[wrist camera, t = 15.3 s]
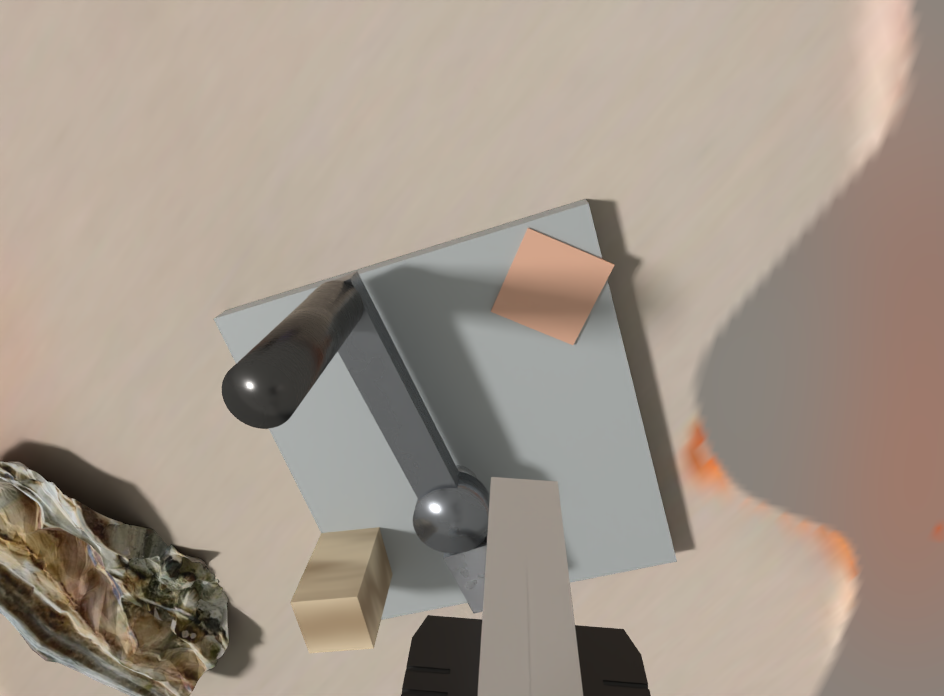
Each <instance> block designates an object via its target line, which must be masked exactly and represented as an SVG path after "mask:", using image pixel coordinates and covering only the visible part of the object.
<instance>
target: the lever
mask: <svg viewBox="0 0 944 696" xmlns="http://www.w3.org/2000/svg"><path fill="white" fill-rule="evenodd" d="M337 352H338V353H339V355H340V357H341V358H342V360H343V362H344V364H345V366H346V368H347V369H348V371H349V373H350V375H351V377H352V379H353V380H354V382H355V384H356V386H357V388H358V390H359V391H360V393H361V395H362V397H363V399H364V401H365V403H366V404H367V406H368V408H369V410H370V412H371V414H372V415H373V417H374V419H375V421H376V423H377V425H378V426H379V428H380V430H381V432H382V434H383V436H384V437H385V439H386V441H387V443H388V445H389V447H390V448H391V450H392V452H393V454H394V456H395V458H396V459H397V461H398V463H399V465H400V467H401V469H402V470H403V472H404V474H405V476H406V478H407V480H408V481H409V483H410V485H411V487H412V489H413V491H414V492H415V494H416V496H417V502H416V506H415V510H414V514H413V527H414V530H415V532H416V534H417V536H418V537H419V538H420V540H421V541H422V542H423V543H424V544H426V545H427V546H429V547H430V548H432V549H434V550H436V551H439V552H443V553H444V557H443V559H444V561H445V562H446V564H447V566H448V568H449V570H450V571H451V573H452V575H453V577H454V579H455V581H456V582H457V584H458V586H459V588H460V590H461V591H462V593H463V595H464V597H465V599H466V601H467V602H468V604H469V606H470V608H471V610H472V611H473V613H477V612H481V611H483V600H484V583H485V567H486V551H487V535H488V518H489V502H490V496H489V493H488V491H487V489H486V487H485V486H484V485H483V483H482V482H481V481H479V480H478V479H477V478H475V477H474V476H472V475H470V474H468V473H464V472H460V471H458V469H457V467H456V465H455V463H454V461H453V459H452V457H451V455H450V453H449V451H448V449H447V447H446V445H445V443H444V441H443V439H442V437H441V435H440V433H439V432H438V430H437V428H436V426H435V424H434V422H433V420H432V418H431V416H430V414H429V412H428V410H427V408H426V406H425V404H424V402H423V400H422V398H421V396H420V394H419V392H418V390H417V388H416V386H415V384H414V382H413V380H412V378H411V376H410V374H409V372H408V370H407V368H406V366H405V364H404V362H403V360H402V358H401V356H400V354H399V353H398V351H397V349H396V347H395V345H394V343H393V341H392V339H391V337H390V335H389V333H388V331H387V329H386V327H385V325H384V323H383V321H382V319H381V317H380V315H379V313H378V311H377V309H376V307H375V305H374V303H373V301H372V299H371V297H370V295H369V293H368V291H367V289H366V287H365V285H364V283H363V281H362V279H361V277H360V275H359V274H358V272H357V271H356V272H353V273H351V274H349V275H346V276H344V277H341V278H339V279H337V280H332V281H328V282H325V283H323V284H322V285H320V286H319V287H318V288H316V289H315V290H314V291H313V292H312V293H311V294H310V295H309V296H308V297H307V298H306V299H305V300H304V301H303V302H302V303H301V304H300V305H299V306H298V307H297V308H296V309H294V310H293V311H292V312H291V313H290V314H289V315H288V316H287V317H286V318H285V319H284V320H283V321H282V322H281V323H279V324H278V325H277V326H276V327H275V328H274V329H273V330H272V331H271V332H270V333H269V334H268V335H267V336H266V337H264V338H263V339H262V340H261V341H260V342H259V343H258V344H257V345H256V346H255V347H254V348H253V349H252V350H251V351H249V352H248V353H247V354H246V355H245V356H244V357H243V358H242V359H241V360H240V361H239V362H238V363H237V364H236V365H234V366H233V367H232V368H231V369H230V370H229V371H228V372H227V374H226V375H225V377H224V380H223V383H222V396H223V399H224V402H225V404H226V406H227V408H228V409H229V411H230V412H231V413H232V414H233V415H234V416H235V417H236V418H237V419H239V420H240V421H241V422H243V423H245V424H247V425H249V426H252V427H256V428H263V429H268V428H274V427H278V426H280V425H282V424H284V423H285V422H286V421H287V420H289V418H290V417H291V416H292V415H293V413H294V412H295V410H296V409H297V408H298V406H299V405H300V403H301V402H302V401H303V399H304V398H305V396H306V395H307V394H308V392H309V391H310V389H311V388H312V387H313V385H314V384H315V382H316V381H317V380H318V378H319V377H320V375H321V374H322V373H323V371H324V370H325V368H326V367H327V366H328V364H329V363H330V361H331V360H332V359H333V357H334V356H335V354H336V353H337Z"/></svg>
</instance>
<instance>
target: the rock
mask: <svg viewBox="0 0 944 696" xmlns="http://www.w3.org/2000/svg"><path fill="white" fill-rule="evenodd" d="M200 563H203V564H206V563H205V562H204V561H202V560H201V559H200V558H196V557H190V556H186V555H182V554H181V553H179V552H178V551H177V550H176V548H175V547H173V546H172V544H171V545H170V546H167V545H166V544H165V543H164V542H163V541H162V539H161V538H160V537H159V536H158V535H157V534H156V532H155V531H154V530H153V529H148V528H143V527H138V526H134V525H128V524H123V523H122V522H118V521H116V520H114V519H110V518H108V517H106V516H103V515H101V514H99V513H97V512H95V511H93V510H92V509H90V508H89V507H87V506H85V505H84V504H82V503H80V502H79V501H77V500H76V499H72V498H69V497H67V496H65V495H63V494H62V492H61V491H60V490H59V489H58V487H57V486H56V485H55V484H54V483H53V482H47V481H46V480H45V479H44V478H43V477H42V476H41V475H40V474H38V473H37V472H35V471H32V470H30V469H29V468H28V467H26V466H25V465H24V464H22V463H21V462H1V461H0V613H1V614H3V615H4V616H5V617H6V618H7V619H8V620H9V621H10V622H11V623H12V625H13V626H14V627H15V628H16V629H17V630H18V631H19V633H20V634H21V635H22V637H23V638H24V640H25V641H26V642H27V644H28V645H29V646H30V648H31V649H32V650H33V651H34V652H36V653H37V654H38V655H39V656H41V657H42V658H43V659H44V660H46V661H51V662H58V663H61V664H63V665H65V666H67V667H69V668H71V669H73V670H76V671H78V672H80V673H82V674H84V675H86V676H88V677H90V678H92V679H93V680H95V681H98V682H100V683H102V684H104V685H107V686H109V687H112V688H114V689H116V690H119V691H121V692H123V693H125V694H128V695H130V696H190V694H191V693H192V691H193V689H194V687H195V685H196V683H197V681H198V680H199V678H200V677H201V676H202V675H203V674H204V673H205V672H206V671H208V670H209V669H212V668H213V667H214V666H216V663H217V660H218V659H219V658H220V657H221V656H222V655H223V654H224V652H225V650H226V649H227V647H228V644H229V635H228V624H227V601H228V598H227V597H226V596H225V594H224V593H223V591H222V589H223V588H222V587H220V586H219V585H218V579H215V576H214V574H213V573H210V572H209V571H208V569H207V567H206V566H205V567H203V566H202V565H201V564H200ZM206 565H207V564H206Z"/></svg>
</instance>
